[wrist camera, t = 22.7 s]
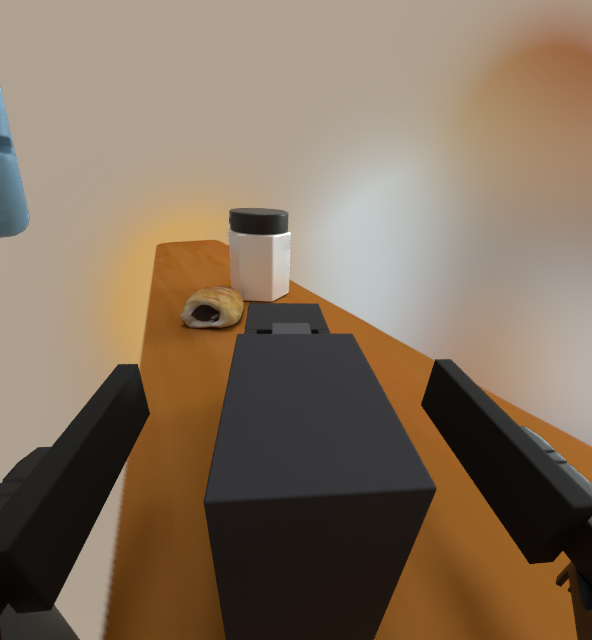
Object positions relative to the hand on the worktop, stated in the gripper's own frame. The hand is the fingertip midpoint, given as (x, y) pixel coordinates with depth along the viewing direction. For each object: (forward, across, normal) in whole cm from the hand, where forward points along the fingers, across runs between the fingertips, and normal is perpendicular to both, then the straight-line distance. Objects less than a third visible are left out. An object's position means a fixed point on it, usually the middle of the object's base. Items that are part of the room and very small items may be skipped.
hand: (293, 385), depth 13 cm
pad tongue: (-1, 0, -8) cm, 8 cm away
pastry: (+23, -8, -8) cm, 26 cm away
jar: (+32, -2, -8) cm, 33 cm away
